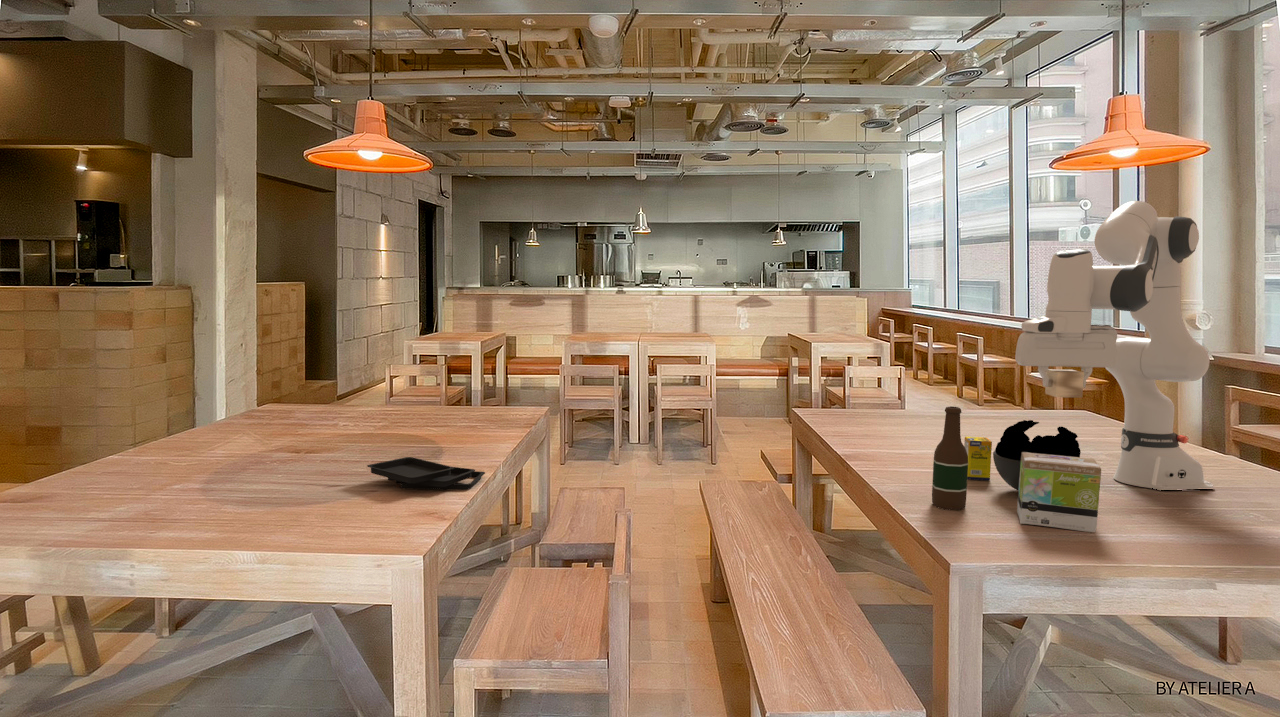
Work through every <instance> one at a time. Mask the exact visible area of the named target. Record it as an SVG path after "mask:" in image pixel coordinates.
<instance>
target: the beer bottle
mask: <svg viewBox="0 0 1280 717" xmlns="http://www.w3.org/2000/svg"><path fill="white" fill-rule="evenodd" d="M944 412H945V416H944V418H945V419H944V427H943V435H942V438H941V441H940V442H939V443H938V444H937V446H936V448H935V450H934V453H933V465H932V466H933V467H932V484H931V487H932V488H931V502H932V505H933V506H934V507H935V506H936V507H935V508H938V507H939V509H941V508H943V509H942V510H945V509H948V510H947V511H949V509H950V511H960V510H963V508H964V509H965V508H966V507H967V506H966V505H967V495H968V494H967V493H968V492H967V490H968V479H967V475H968V455H967V451H966V449H965V447H964V444H963V442H962V438H961V437H962V436H961V414H962V413H963V412H962V408H960V407H959V406H946V407H945V409H944ZM959 509H960V510H959Z"/></svg>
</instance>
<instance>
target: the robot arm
mask: <svg viewBox="0 0 1280 717" xmlns="http://www.w3.org/2000/svg"><path fill="white" fill-rule="evenodd" d="M1157 212H1158V211H1157V210H1156V208H1154V207H1153V205H1151V204H1150V203H1148V202H1145V201H1141V200H1132V201H1131V200H1130V201H1128V202H1125V203H1124V204H1122V205H1120V206H1119V207H1116V209H1115V210H1113V211H1112V212H1111V213H1110V214H1109V215H1108V216H1107V217H1106V219H1104V220H1103V222H1102V223H1101V224H1100V226H1099V227H1098V229H1097V230H1096V233H1095V235H1094V240H1093V241H1094V246H1095V250H1096V251H1097V253H1098V255H1099V256H1100V257H1101V258H1102V259H1103V260H1104V261H1107V263H1111V264H1113V265H1094V259H1093V254H1092V251H1090V250H1087V249H1080V248H1079V249H1067V250H1065V249H1064V250H1060V251H1057V252H1055V253H1054V254H1052V257H1051V261H1050V264H1049V269H1048V276H1047V284H1046V286H1047V287H1046V293H1047V297H1048V300H1047V304H1046V307H1045V315H1042V316H1038V317H1035V318H1032V319H1028V320H1025V321H1023V322H1022V323H1021V331H1023V332H1022V333H1020V335H1019V336H1018V338H1017V342H1016V349H1015V353H1014V354H1015V357H1014V358H1015V362H1016V364H1018V365H1019V366H1023V367H1037V372H1038V373H1039V375H1040V377H1041V378H1042V387H1043V388H1045V387H1052V386H1053V384H1052V383H1053V379H1050V378H1049V377H1048V375H1047V373H1046V371H1048V369H1050V368H1049V367H1062V368H1063V367H1066V368H1067V367H1068V368H1070V367H1071V368H1073V367H1074V368H1080V372H1084V381H1083V389H1084V388H1086V386H1087V385H1086V384H1087V380H1088V379H1089V377H1090V376H1091V375H1092V373H1093V368H1105V370H1106V371H1108V372H1109V373H1110V374H1111V375H1112V376H1113V377H1114V379H1116V381H1117V383H1118V385H1119V387H1120V389H1121V392H1122V395H1123V398H1124V399H1123V400H1124V424H1123V425H1124V426H1123V428H1121V438H1120V447H1121V450H1120V457H1119V461H1118V464H1117V468H1116V471H1115V473H1114V475H1113V479H1114V480H1115V481H1117V482H1119V483H1123V484H1127V485H1131V486H1136V487H1141V488H1147V489H1152V488H1153V490H1156V489H1157V491H1161V490H1177V489H1198V488H1213V487H1214V485H1213V483H1212V482H1209V481H1208V480H1206V479H1205V478H1204V470H1203V466H1202V464H1201V463H1200V461H1198V460H1197V459H1195V458H1194V457H1193V456H1192V455H1190V454H1189V453H1188V452H1187V451H1185V449H1183V448H1182V447H1180V444H1179V443H1181V444H1184V445H1185V444H1187V443H1188V442H1189V438H1188V436H1186V435H1183V434H1177V433H1176V432H1174V422H1175V420H1174V419H1175V409H1176V408H1175V405H1174V402H1173V401H1172V400H1171V398H1170V397H1169V396H1167V395H1165V394H1163V392H1161V390H1160V389H1159V387H1158V386H1157V383H1156V381H1161V382H1162V381H1164V382H1169V383H1170V382H1172V383H1186V382H1187V383H1188V382H1194V381H1199V380H1200V379H1201V378H1203V377H1204V376H1205V374H1206V373H1207V372H1208V370H1209V367H1210V355H1209V353H1208V351H1207V349H1206V348H1205V347H1204V346H1203V345H1202V344H1201V343H1199V342H1198V341H1196V339H1194V338H1193V336H1192V335H1191V334H1190V332H1189V331H1188V329H1187V327H1186V325H1185V323H1184V319H1183V317H1182V316H1183V315H1182V299H1181V298H1182V297H1181V295H1182V294H1181V293H1182V292H1181V291H1182V274H1181V272H1182V270H1181V263H1182V262H1183V261H1184V259H1187V258H1189V257H1190V256H1191V255H1192V254H1194V252H1195V251H1196V249H1197V246H1198V244H1199V240H1200V234H1199V233H1200V232H1199V228H1198V226H1197V223H1196V221H1194V220H1193V219H1192V218H1191V217H1187V216H1174V217H1170V216H1169V217H1167V216H1160V217H1159V216H1158V213H1157ZM1093 310H1115V311H1116V310H1117V311H1122V312H1129V313H1130V316H1131V317H1132V319H1133V320H1134V321H1136V322H1137V323H1138V324H1141V325H1142V326H1143V327H1144V328H1145V329H1146V331H1147V333H1148V335H1149V337H1137V336H1136V337H1134V336H1127V337H1120V338H1118V331H1117V330H1116V329H1115V327H1113V326H1111V325H1110V324H1092V315H1093V313H1092V311H1093Z"/></svg>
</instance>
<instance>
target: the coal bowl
mask: <svg viewBox="0 0 1280 717" xmlns="http://www.w3.org/2000/svg"><path fill="white" fill-rule="evenodd" d="M1038 424H1040V422H1039V421H1034V420H1031V419H1028V420H1026V419H1023V420H1021V421H1017V422H1016V423H1014V424H1013V425H1010V426H1008V427H1006V429H1004V431H1003V433H1002V436H1001V437H1000V441H999V442H997V444H996V446H995V449H994V450H993V452H992V458H993V462H994V466H995V469H996V471H997V473H998V474H999V476H1000V477H1001V478H1002V480H1003V481H1004V482H1005V483H1006V484H1007V485H1009V486H1010V487H1011V488H1013V489H1014V490H1016V491H1017V492H1018V491H1019V477H1020V465H1021V454H1022V452H1027V453H1037V454H1048V455H1059V456H1069V457H1080V458H1081V453H1082V452H1081V448H1080V443H1079V441H1078V440H1077V439H1078V438H1079V436H1078V435H1077V433H1076V432H1072V430H1069V429H1068V428H1067V427H1064V426H1058V427H1057V430H1056V431H1057V432H1058V433H1056V434H1055V435H1049V434H1048V435H1044V436H1042V435H1039V434H1037V435H1036V436H1034V437H1033V438H1032V440H1031V438H1030V437H1029V436H1028V435H1027V434H1026V432H1027V431H1028V430H1029V429H1032V428H1033V427H1034V426H1035V425H1038ZM1030 440H1031V441H1030Z"/></svg>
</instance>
